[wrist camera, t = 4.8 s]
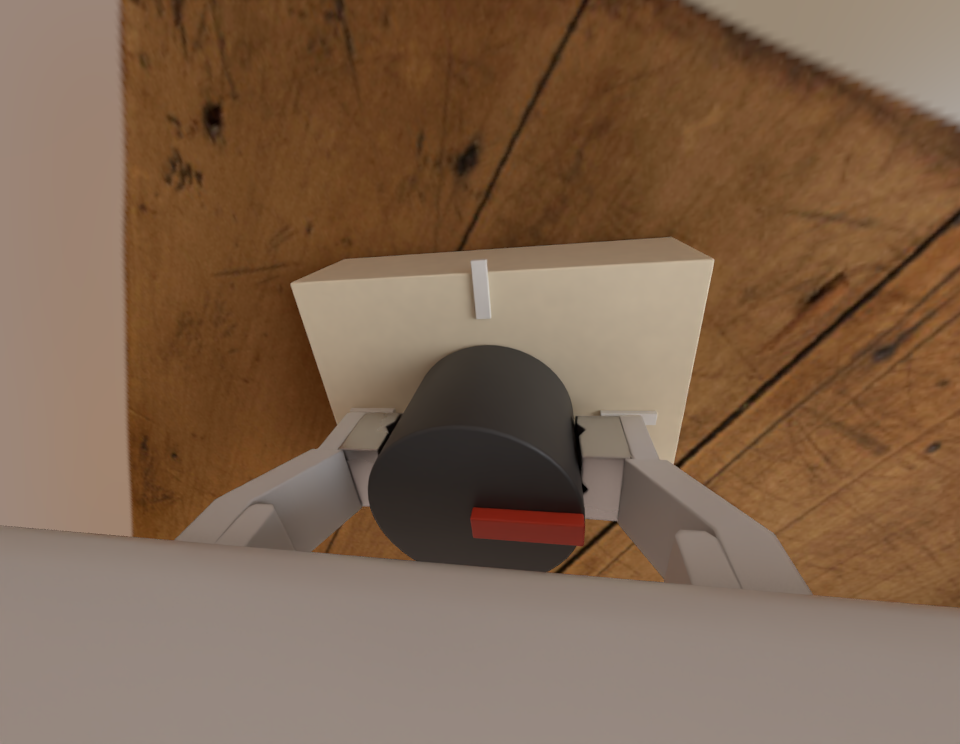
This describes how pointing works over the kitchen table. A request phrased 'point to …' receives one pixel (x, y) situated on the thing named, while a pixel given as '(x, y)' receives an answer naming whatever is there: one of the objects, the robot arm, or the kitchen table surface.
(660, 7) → the kitchen table surface
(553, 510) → the knob
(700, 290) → the panel
